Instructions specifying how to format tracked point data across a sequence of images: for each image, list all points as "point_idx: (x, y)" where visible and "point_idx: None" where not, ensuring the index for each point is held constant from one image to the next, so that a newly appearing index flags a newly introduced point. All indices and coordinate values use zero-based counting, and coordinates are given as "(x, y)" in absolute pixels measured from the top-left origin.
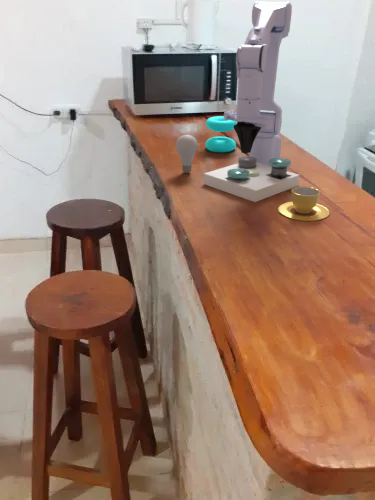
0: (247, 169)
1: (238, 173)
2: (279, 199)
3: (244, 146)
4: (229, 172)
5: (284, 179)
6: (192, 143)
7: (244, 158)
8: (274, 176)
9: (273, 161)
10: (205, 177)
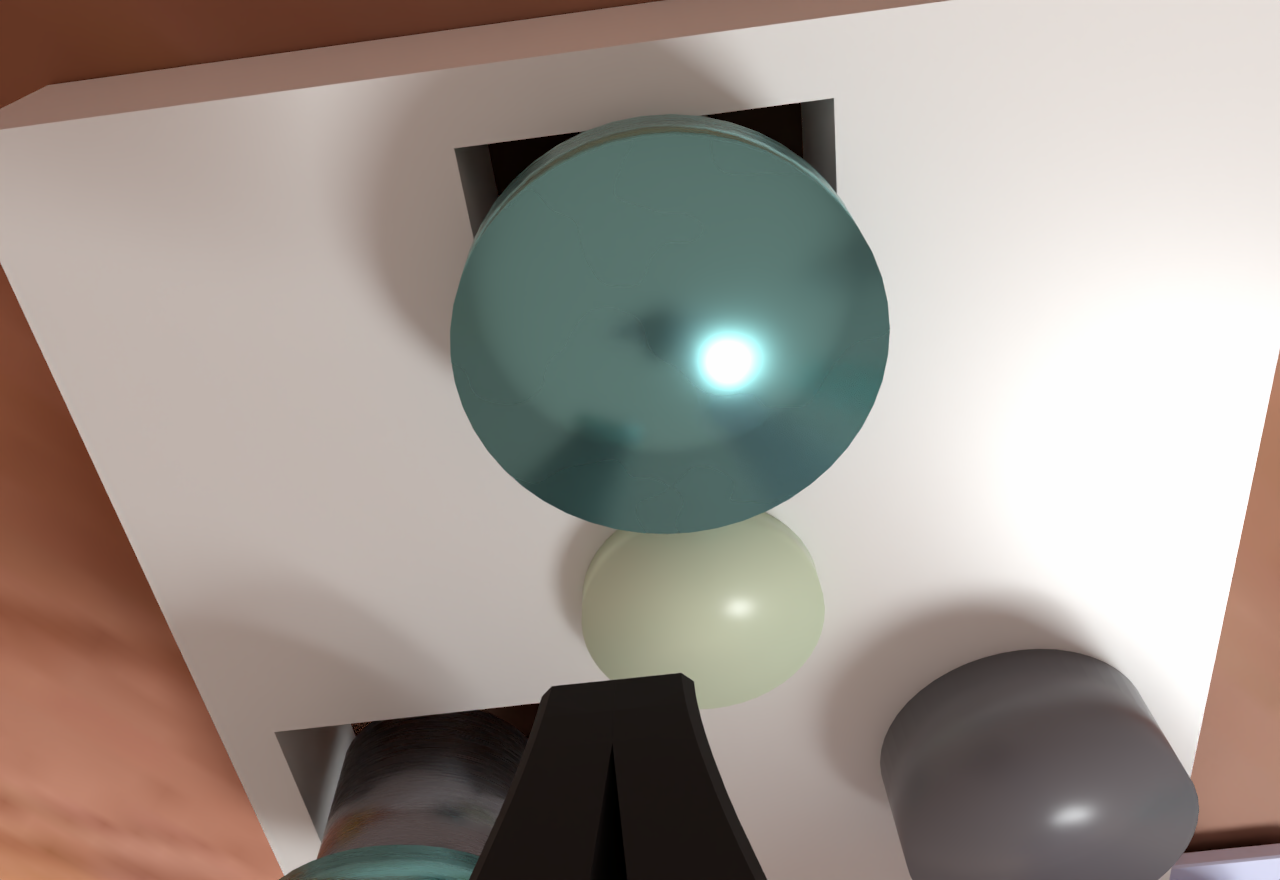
0: (900, 670)
1: (593, 302)
2: (33, 441)
3: (530, 832)
4: (756, 193)
5: (259, 772)
6: None
7: (1108, 823)
8: (403, 745)
9: None
10: None
